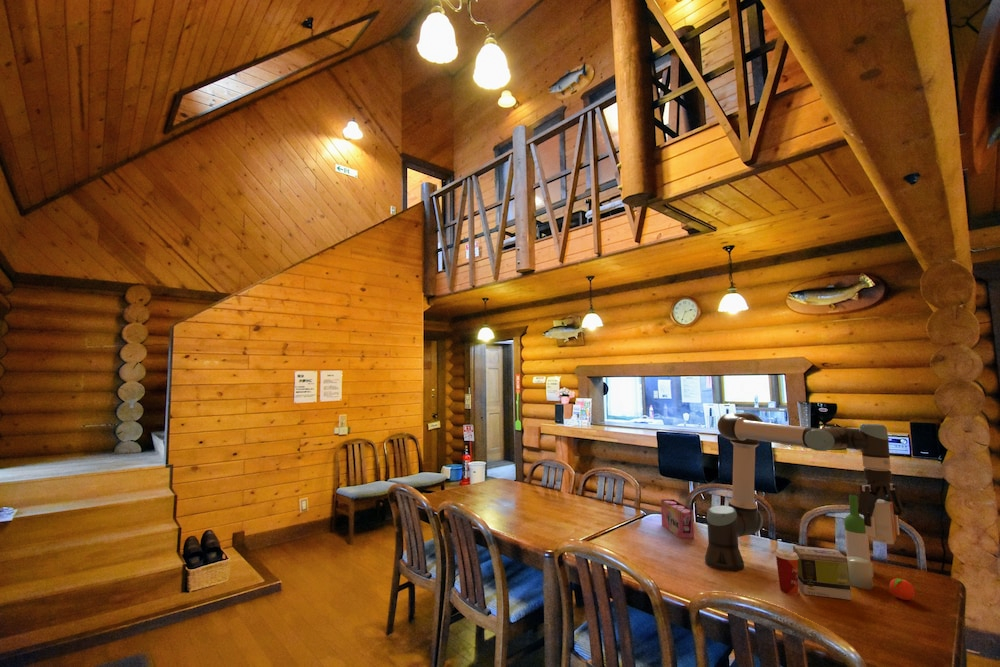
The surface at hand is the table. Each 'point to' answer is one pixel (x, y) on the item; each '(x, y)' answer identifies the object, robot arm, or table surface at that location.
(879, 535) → the small box
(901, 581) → the strawberry
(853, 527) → the wine bottle
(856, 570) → the sage mug
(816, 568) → the tea box
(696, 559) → the table surface
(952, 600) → the table surface
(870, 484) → the robot arm
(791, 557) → the paper cup
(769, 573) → the table surface
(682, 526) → the gum box
